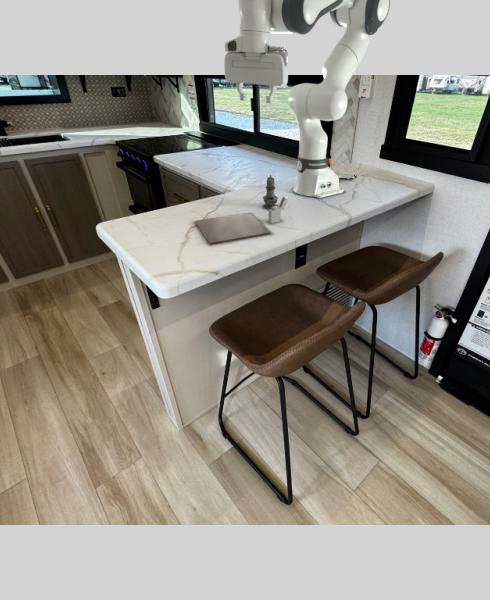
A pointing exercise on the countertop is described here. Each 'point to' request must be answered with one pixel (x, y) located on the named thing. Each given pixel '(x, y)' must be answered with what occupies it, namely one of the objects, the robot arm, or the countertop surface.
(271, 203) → the tarnished pewter finial
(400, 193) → the countertop surface
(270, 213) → the lighter
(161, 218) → the countertop surface
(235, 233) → the walnut board
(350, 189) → the countertop surface
